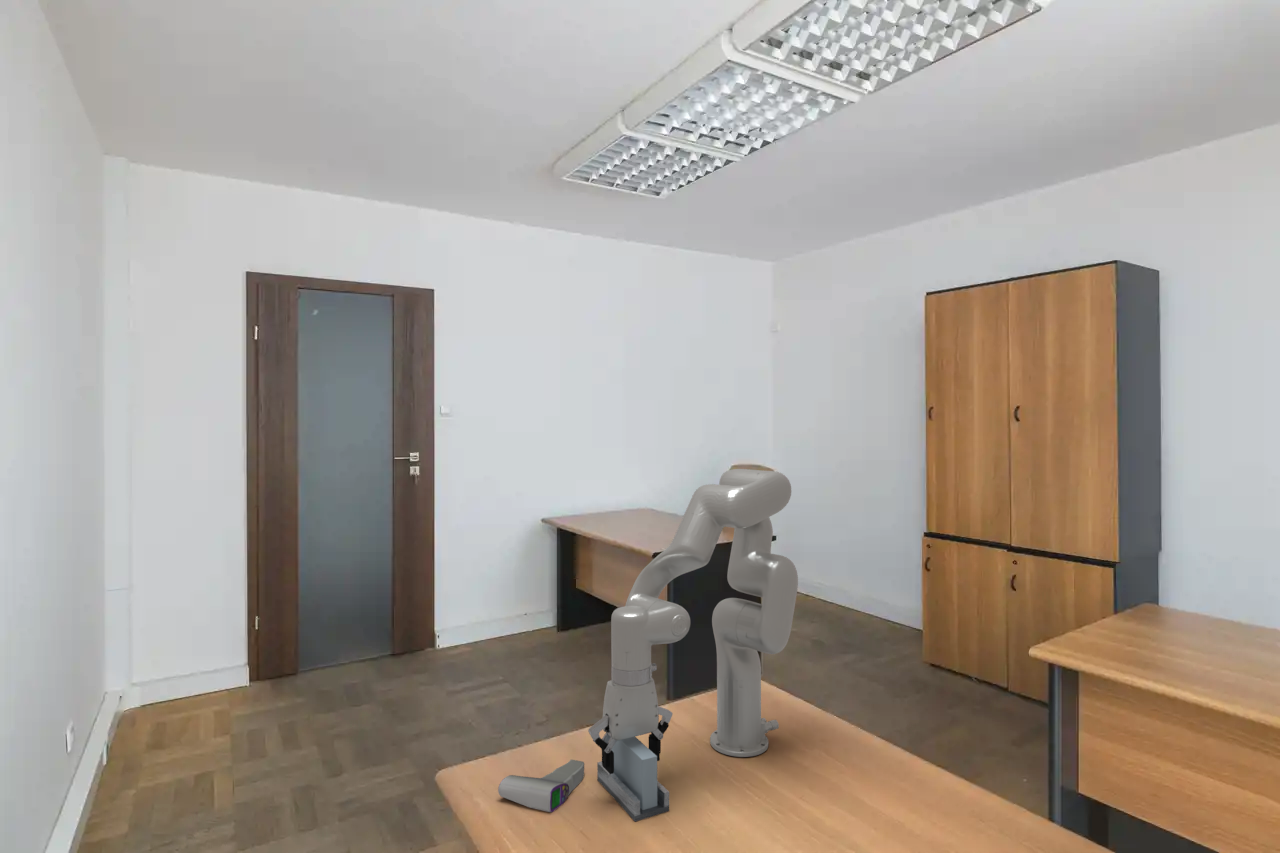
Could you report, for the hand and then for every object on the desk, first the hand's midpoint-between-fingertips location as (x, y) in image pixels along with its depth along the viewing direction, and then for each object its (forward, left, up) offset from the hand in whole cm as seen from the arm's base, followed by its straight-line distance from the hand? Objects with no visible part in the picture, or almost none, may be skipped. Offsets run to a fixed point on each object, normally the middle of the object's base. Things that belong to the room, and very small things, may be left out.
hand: (631, 764), depth 129 cm
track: (0, 0, -6) cm, 6 cm away
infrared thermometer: (+14, -10, -6) cm, 18 cm away
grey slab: (0, 0, -5) cm, 5 cm away
